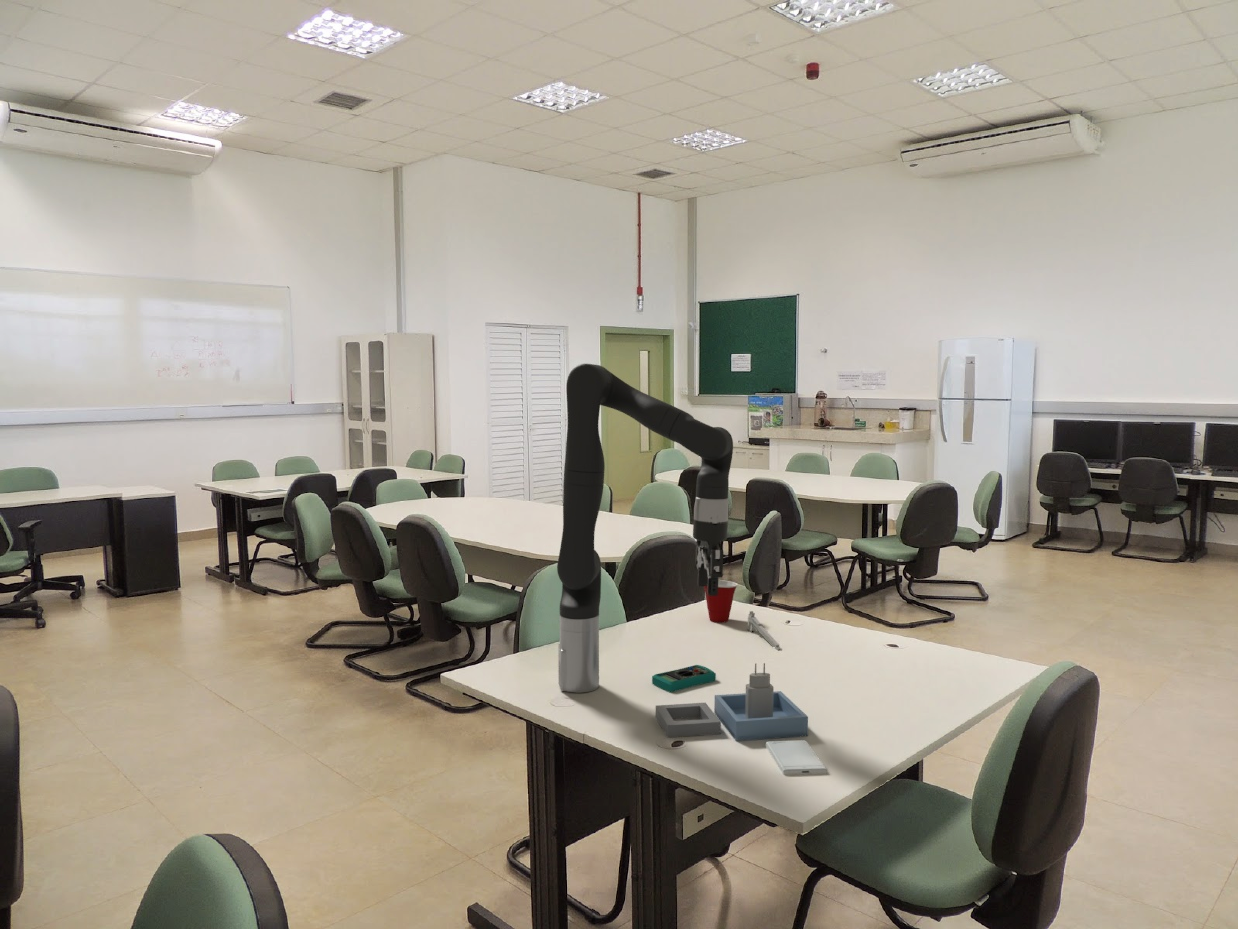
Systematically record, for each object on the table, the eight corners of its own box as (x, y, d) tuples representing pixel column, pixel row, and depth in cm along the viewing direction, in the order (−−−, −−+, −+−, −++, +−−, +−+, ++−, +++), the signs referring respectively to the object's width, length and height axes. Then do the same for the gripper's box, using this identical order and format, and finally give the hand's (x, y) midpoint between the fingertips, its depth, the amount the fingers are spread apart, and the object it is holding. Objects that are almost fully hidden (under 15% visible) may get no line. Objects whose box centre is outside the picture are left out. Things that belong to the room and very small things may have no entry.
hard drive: (765, 741, 165) (783, 769, 153) (806, 740, 166) (827, 767, 154) (765, 749, 166) (783, 777, 153) (806, 748, 166) (827, 776, 154)
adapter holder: (667, 737, 170) (667, 725, 169) (655, 717, 180) (655, 705, 180) (720, 733, 172) (720, 721, 171) (705, 713, 182) (705, 702, 182)
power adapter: (774, 721, 176) (775, 665, 175) (748, 723, 175) (749, 666, 174) (769, 716, 179) (770, 660, 178) (744, 717, 178) (745, 661, 177)
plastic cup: (744, 621, 257) (745, 582, 256) (716, 626, 252) (717, 586, 251) (722, 613, 266) (722, 576, 265) (694, 618, 261) (695, 580, 260)
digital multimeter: (718, 682, 204) (718, 670, 204) (669, 694, 195) (669, 682, 195) (698, 674, 210) (698, 662, 210) (650, 685, 201) (650, 673, 201)
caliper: (747, 631, 248) (747, 610, 247) (750, 630, 248) (751, 609, 248) (777, 651, 228) (778, 628, 228) (781, 651, 229) (782, 628, 228)
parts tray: (736, 741, 168) (736, 721, 168) (714, 713, 183) (714, 695, 182) (807, 736, 171) (808, 716, 170) (780, 709, 185) (780, 691, 185)
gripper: (686, 513, 192) (683, 583, 194) (702, 523, 178) (698, 598, 180) (718, 513, 194) (715, 583, 195) (736, 523, 180) (732, 598, 181)
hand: (707, 590), depth 187 cm, fingers open, 8 cm apart
